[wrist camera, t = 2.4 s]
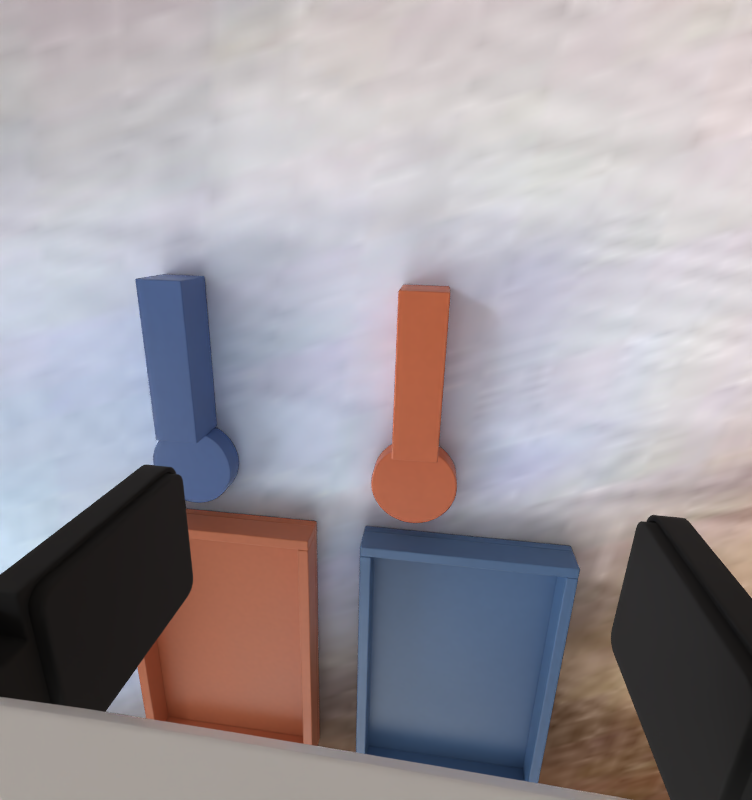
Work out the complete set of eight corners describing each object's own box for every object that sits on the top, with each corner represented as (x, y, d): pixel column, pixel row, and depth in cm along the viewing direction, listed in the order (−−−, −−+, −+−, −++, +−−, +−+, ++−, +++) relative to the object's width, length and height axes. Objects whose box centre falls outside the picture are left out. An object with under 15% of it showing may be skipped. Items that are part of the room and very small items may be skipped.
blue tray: (365, 525, 28) (359, 546, 26) (570, 545, 27) (580, 569, 25) (360, 743, 34) (355, 773, 32) (529, 768, 32) (534, 801, 30)
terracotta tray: (133, 503, 29) (111, 521, 28) (317, 520, 28) (308, 541, 26) (165, 714, 35) (149, 742, 33) (319, 737, 34) (312, 767, 32)
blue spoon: (142, 273, 25) (112, 277, 23) (226, 276, 24) (204, 281, 22) (168, 488, 29) (145, 510, 27) (241, 495, 28) (224, 518, 26)
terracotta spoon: (379, 283, 23) (372, 288, 21) (473, 287, 23) (477, 293, 21) (373, 507, 27) (366, 532, 25) (452, 515, 27) (453, 540, 25)
